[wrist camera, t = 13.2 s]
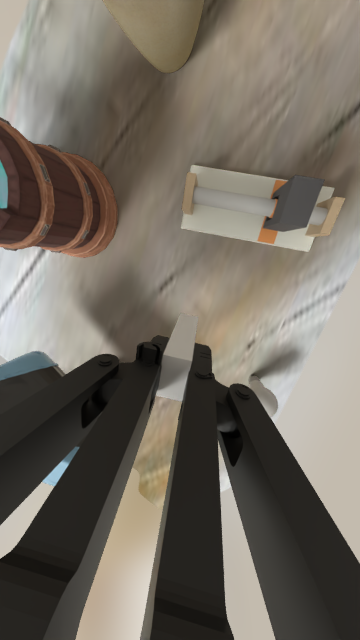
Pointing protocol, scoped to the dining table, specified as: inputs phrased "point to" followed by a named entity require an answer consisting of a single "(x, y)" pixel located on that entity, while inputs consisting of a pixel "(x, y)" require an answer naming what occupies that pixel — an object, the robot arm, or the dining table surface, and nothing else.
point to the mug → (52, 199)
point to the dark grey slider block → (294, 203)
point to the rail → (240, 218)
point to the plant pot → (159, 28)
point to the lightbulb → (264, 395)
